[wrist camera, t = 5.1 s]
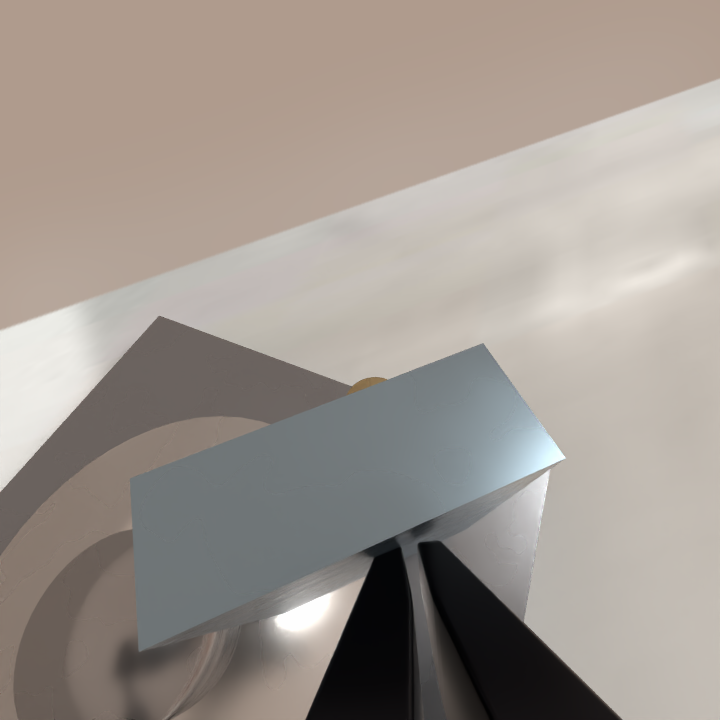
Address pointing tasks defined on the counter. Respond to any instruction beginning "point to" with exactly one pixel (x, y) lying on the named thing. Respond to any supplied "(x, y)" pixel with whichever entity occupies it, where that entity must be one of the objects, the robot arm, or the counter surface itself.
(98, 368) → the counter surface
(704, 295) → the counter surface
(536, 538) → the locating plate
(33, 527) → the flange
